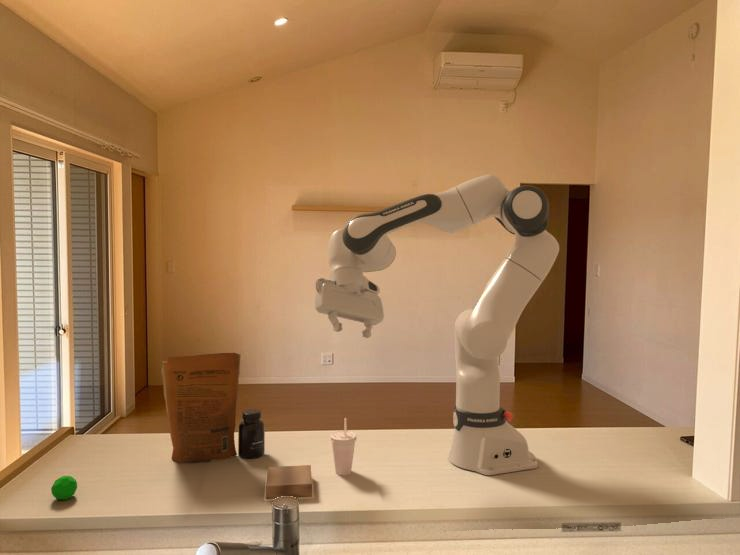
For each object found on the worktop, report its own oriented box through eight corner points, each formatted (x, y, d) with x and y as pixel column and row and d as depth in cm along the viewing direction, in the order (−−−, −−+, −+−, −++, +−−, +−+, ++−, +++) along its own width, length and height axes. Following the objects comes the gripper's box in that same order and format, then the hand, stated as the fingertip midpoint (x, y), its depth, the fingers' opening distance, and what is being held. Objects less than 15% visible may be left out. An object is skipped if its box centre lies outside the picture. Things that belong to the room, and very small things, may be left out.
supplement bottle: (258, 462, 143) (258, 416, 142) (233, 459, 144) (233, 414, 143) (268, 451, 149) (268, 408, 148) (245, 449, 151) (244, 406, 150)
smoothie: (346, 481, 132) (346, 424, 130) (324, 475, 135) (324, 419, 134) (361, 472, 137) (361, 416, 136) (340, 466, 140) (340, 412, 139)
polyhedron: (47, 503, 120) (46, 482, 120) (59, 493, 125) (58, 472, 125) (70, 503, 120) (69, 482, 120) (81, 493, 125) (81, 472, 125)
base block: (310, 477, 133) (310, 465, 133) (312, 496, 123) (312, 483, 123) (268, 479, 132) (268, 467, 131) (266, 499, 122) (265, 486, 121)
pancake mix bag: (241, 462, 142) (239, 354, 140) (162, 467, 139) (160, 356, 137) (242, 452, 149) (241, 349, 147) (168, 456, 146) (165, 351, 144)
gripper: (322, 271, 138) (326, 321, 132) (384, 288, 151) (390, 335, 144) (308, 281, 142) (311, 331, 136) (369, 297, 155) (374, 344, 148)
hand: (352, 333), depth 140 cm, fingers open, 8 cm apart
